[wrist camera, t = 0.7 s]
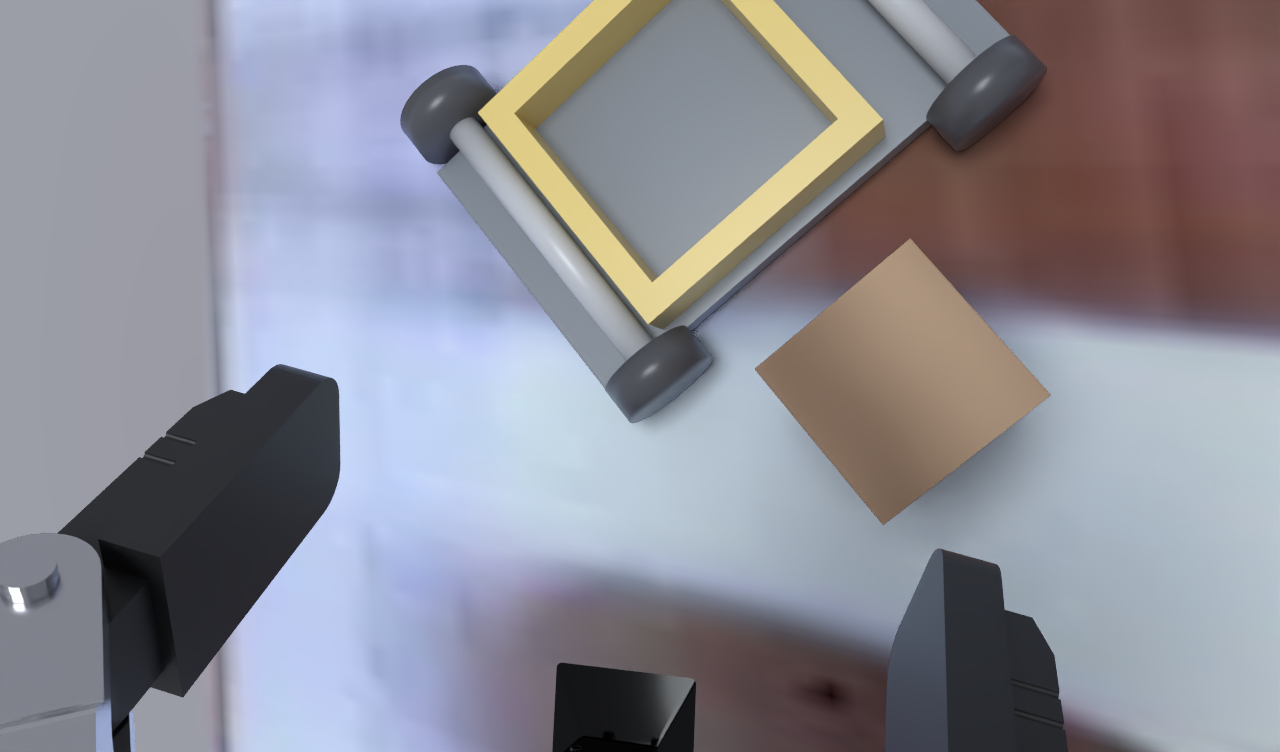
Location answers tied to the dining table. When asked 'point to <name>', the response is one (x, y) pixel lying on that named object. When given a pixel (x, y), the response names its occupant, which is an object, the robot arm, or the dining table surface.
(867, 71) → the chassis
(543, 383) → the dining table surface
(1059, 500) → the dining table surface
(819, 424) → the brown wooden block
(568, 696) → the black angular machine part
